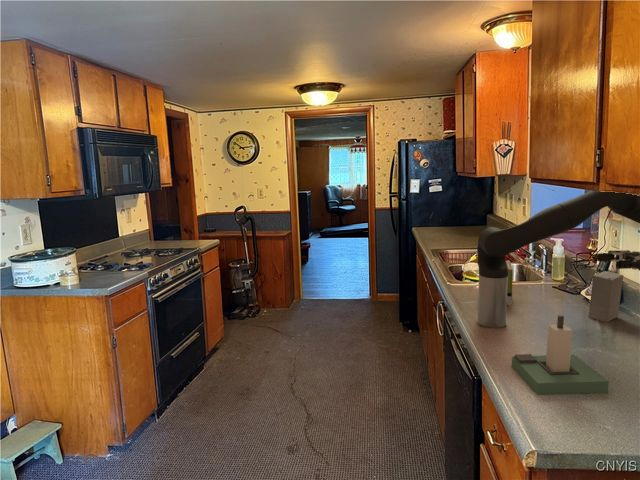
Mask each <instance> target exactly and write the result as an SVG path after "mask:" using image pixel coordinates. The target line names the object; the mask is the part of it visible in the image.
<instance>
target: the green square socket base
mask: <svg viewBox="0 0 640 480" xmlns="http://www.w3.org/2000/svg"><path fill="white" fill-rule="evenodd" d="M511 368H512V369H513V370H514V371H515V372H516V373H517V374H518V375H519V376H520V378H522V380H523V379H524V380H523V381H524V382H525V383H526V384H527V385H528V386H529V387H530V389H532V390H533V392H534V393H535V394H536V395H541V396H543V395H571V394H573V395H575V394H576V395H577V394H606V393H607V394H608V392H609V383H610V380H608V379H606V378H605V377H604V376H602V375H601V374H600V373H599V372H597V371H596V370H595V369H594V368H592V367H591V366H590V365H589V364H588V363H586V362H585V361H583V360H582V359H581V358H579V357H578V356H577V355H576V354H571V357H570V371H569V372H551V371H550V370H549V369H548V368H547V367H546V355H532V354H531V353H529V354H526V353H525V354H524V353H522V354H520V353H519V354H514V355H512V357H511Z"/></svg>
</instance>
